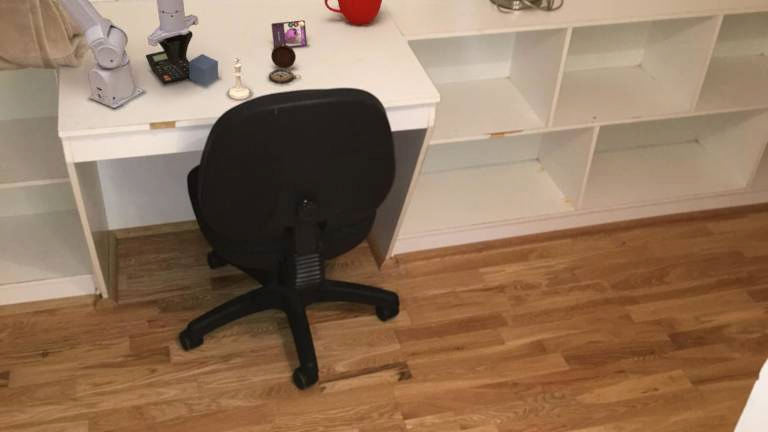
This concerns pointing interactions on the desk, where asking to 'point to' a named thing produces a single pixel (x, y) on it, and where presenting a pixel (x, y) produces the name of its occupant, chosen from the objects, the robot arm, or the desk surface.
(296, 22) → the purple printed box
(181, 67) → the calculator
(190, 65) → the slate block
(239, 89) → the chess piece
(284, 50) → the compass
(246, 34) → the desk surface
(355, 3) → the ceramic cup
